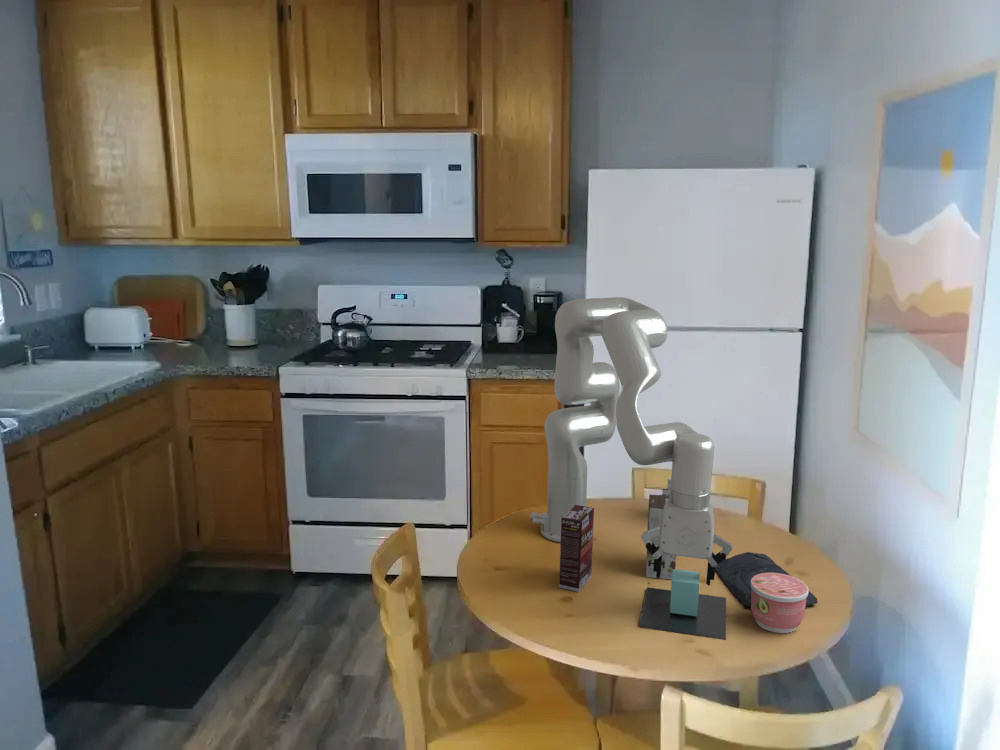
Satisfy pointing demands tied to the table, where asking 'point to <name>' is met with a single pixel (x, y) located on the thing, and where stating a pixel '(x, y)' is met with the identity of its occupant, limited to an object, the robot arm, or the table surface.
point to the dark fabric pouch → (749, 574)
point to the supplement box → (576, 548)
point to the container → (778, 601)
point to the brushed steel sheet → (704, 624)
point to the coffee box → (653, 522)
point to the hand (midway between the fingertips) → (683, 578)
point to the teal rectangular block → (684, 592)
